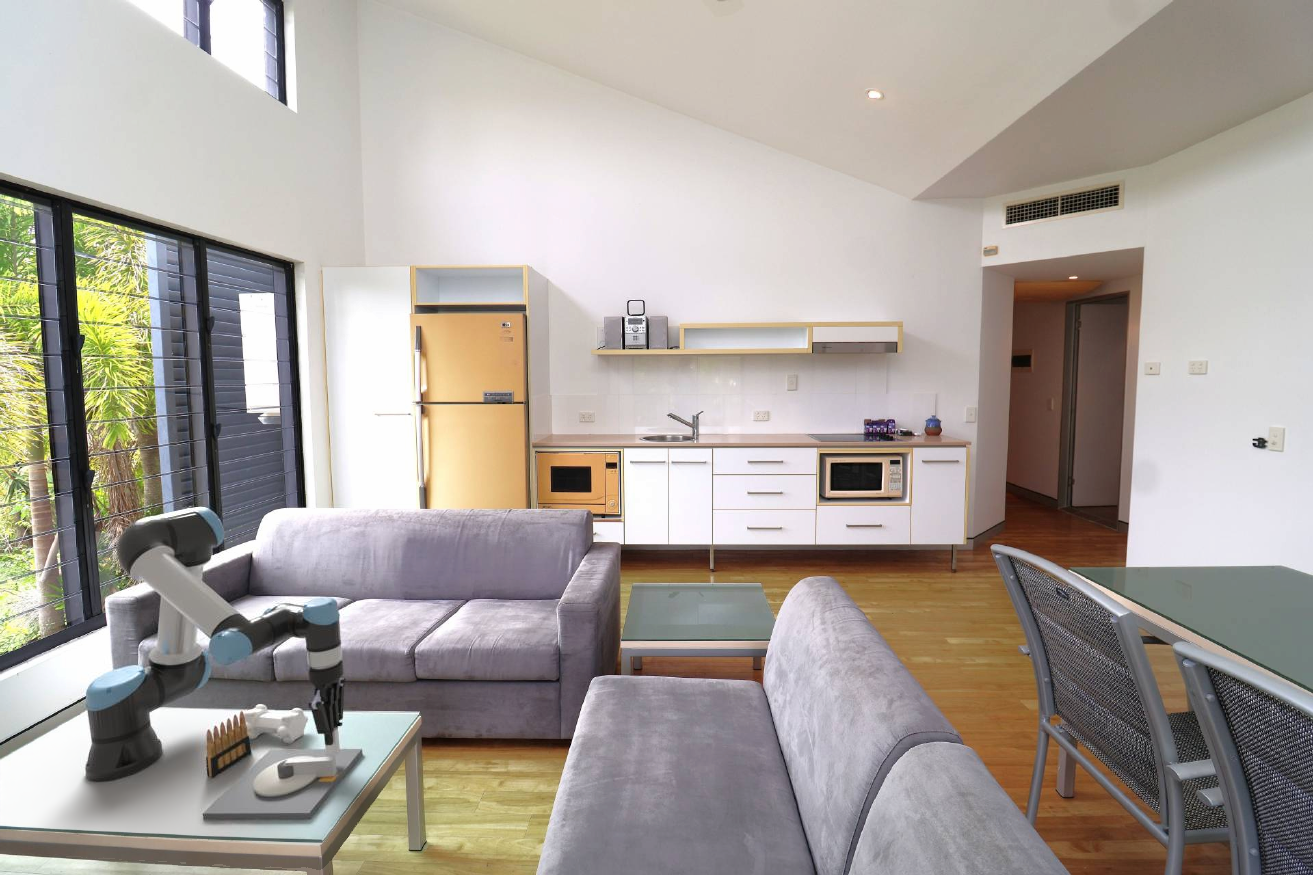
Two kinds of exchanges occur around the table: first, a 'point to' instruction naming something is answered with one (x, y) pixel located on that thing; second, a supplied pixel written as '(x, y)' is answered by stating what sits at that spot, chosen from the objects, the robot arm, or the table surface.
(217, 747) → the ammunition clip
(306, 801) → the dial base
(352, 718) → the table surface
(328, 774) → the dial
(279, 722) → the white bone
